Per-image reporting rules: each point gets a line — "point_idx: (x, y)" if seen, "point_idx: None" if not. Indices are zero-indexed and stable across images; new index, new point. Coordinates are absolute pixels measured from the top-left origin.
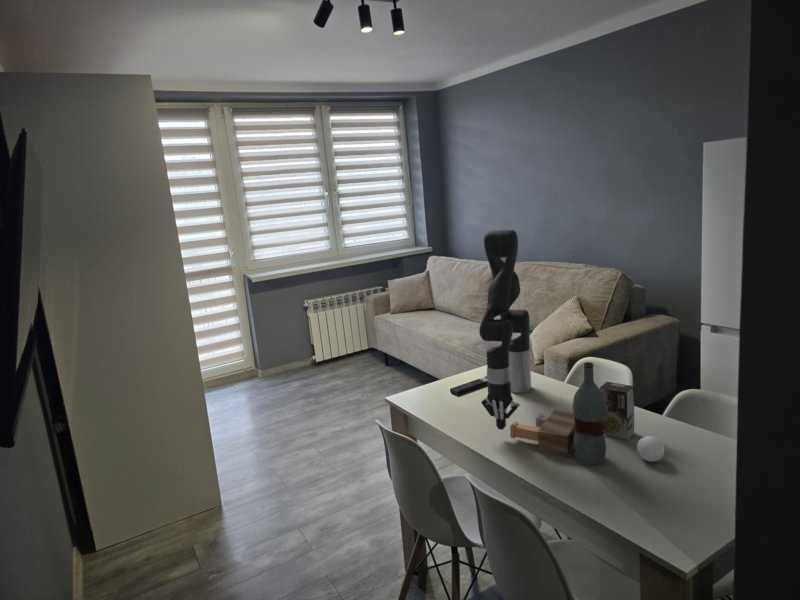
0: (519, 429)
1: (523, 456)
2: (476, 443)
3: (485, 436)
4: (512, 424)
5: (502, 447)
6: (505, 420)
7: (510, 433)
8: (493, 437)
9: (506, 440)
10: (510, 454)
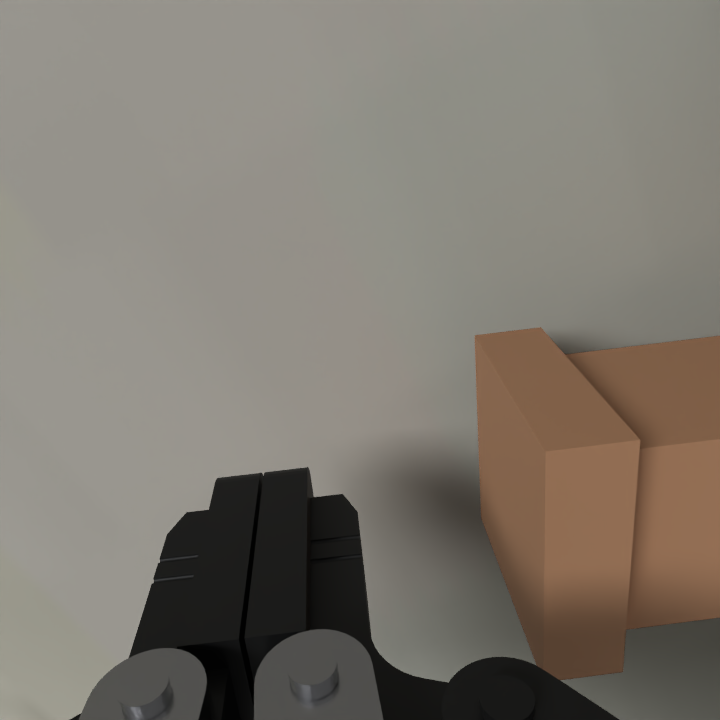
0: (716, 601)
1: (715, 650)
2: (70, 670)
3: (33, 476)
4: (559, 598)
5: (413, 605)
6: (367, 616)
7: (501, 569)
8: (155, 448)
9: (373, 436)
10: (566, 679)
